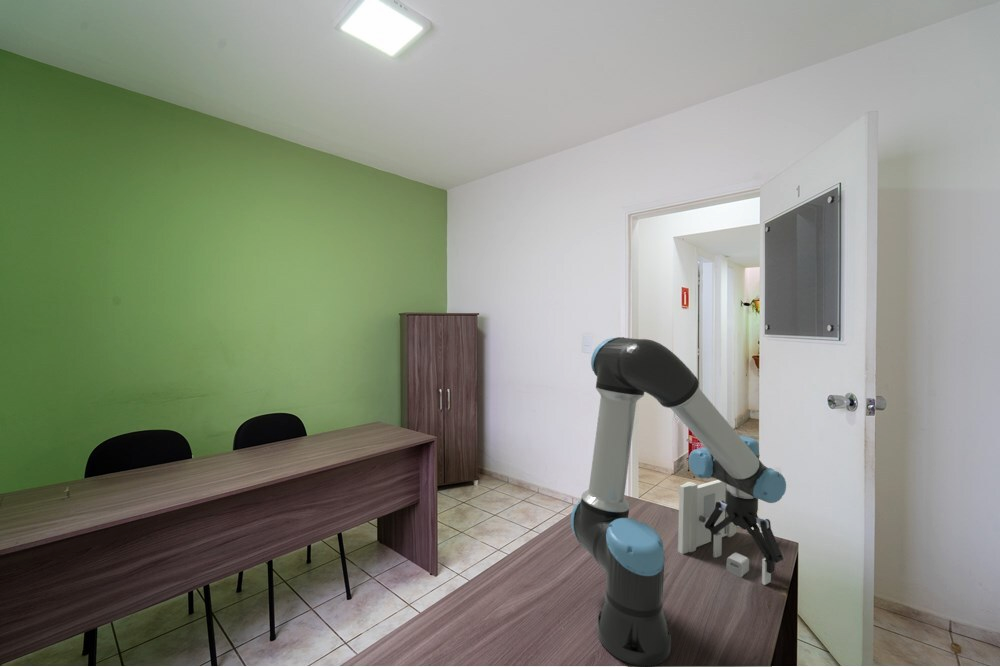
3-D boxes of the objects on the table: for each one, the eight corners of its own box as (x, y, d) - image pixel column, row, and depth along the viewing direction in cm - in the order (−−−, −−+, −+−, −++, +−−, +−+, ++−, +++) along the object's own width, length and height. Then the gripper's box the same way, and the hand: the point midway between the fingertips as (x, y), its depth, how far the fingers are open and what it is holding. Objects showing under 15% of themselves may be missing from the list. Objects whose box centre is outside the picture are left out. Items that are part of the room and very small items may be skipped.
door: (719, 534, 129) (721, 478, 129) (727, 538, 127) (729, 481, 127) (691, 544, 123) (692, 486, 122) (699, 549, 121) (700, 489, 120)
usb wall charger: (726, 571, 111) (726, 556, 111) (737, 562, 115) (737, 548, 115) (742, 578, 108) (742, 563, 108) (752, 569, 112) (753, 555, 112)
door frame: (683, 555, 118) (685, 487, 118) (676, 550, 121) (677, 484, 120) (737, 533, 131) (739, 473, 130) (730, 530, 133) (731, 470, 132)
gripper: (800, 508, 102) (798, 591, 102) (708, 475, 124) (707, 543, 125) (783, 515, 98) (781, 600, 99) (692, 479, 120) (691, 549, 121)
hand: (740, 568), depth 112 cm, fingers open, 13 cm apart
